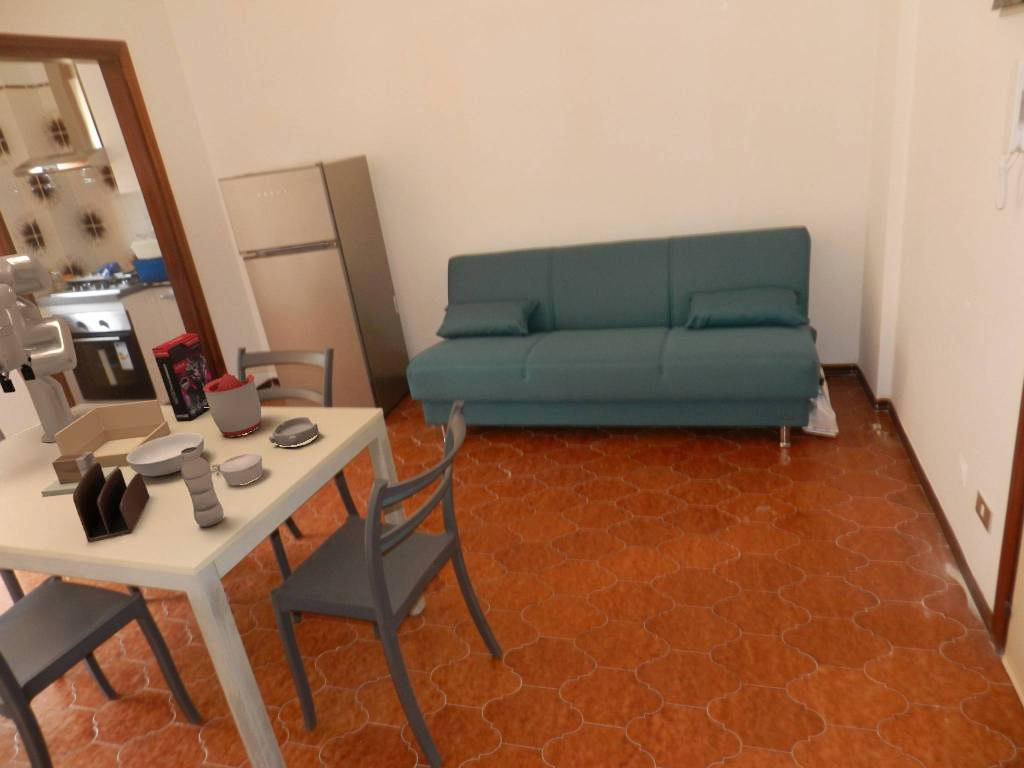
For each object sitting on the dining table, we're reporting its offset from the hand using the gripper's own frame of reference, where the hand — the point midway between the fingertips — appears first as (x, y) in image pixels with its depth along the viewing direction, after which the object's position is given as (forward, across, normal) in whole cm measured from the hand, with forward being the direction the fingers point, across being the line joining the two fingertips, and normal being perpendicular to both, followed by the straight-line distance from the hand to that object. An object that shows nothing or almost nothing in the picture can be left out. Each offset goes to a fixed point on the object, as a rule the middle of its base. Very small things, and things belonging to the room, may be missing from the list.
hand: (20, 385), depth 208 cm
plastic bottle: (+24, +50, +71) cm, 91 cm away
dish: (+26, +5, +80) cm, 84 cm away
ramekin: (+25, +28, +72) cm, 81 cm away
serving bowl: (+26, +14, +45) cm, 54 cm away
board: (+26, +18, +20) cm, 37 cm away
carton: (+27, -3, +20) cm, 34 cm away
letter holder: (+25, +42, +44) cm, 66 cm away
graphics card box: (+28, -32, +34) cm, 54 cm away
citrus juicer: (+26, -10, +58) cm, 65 cm away
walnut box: (+24, +18, +20) cm, 36 cm away
